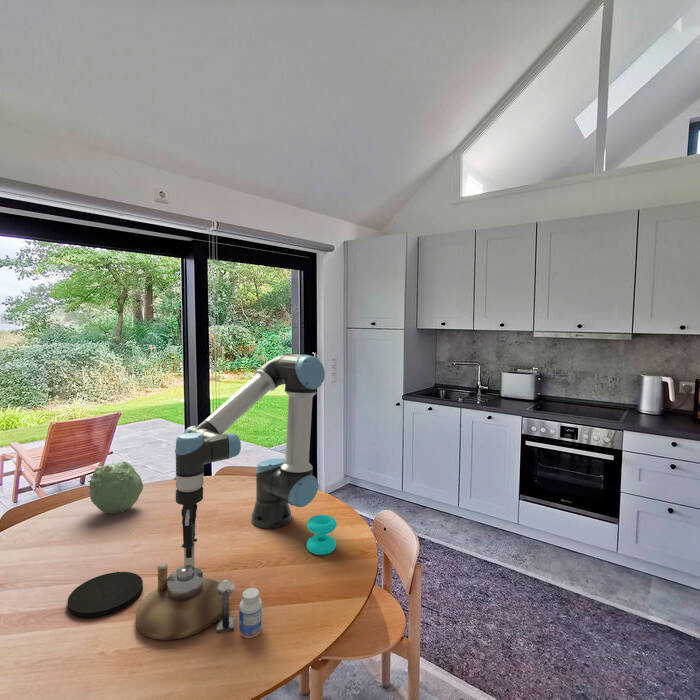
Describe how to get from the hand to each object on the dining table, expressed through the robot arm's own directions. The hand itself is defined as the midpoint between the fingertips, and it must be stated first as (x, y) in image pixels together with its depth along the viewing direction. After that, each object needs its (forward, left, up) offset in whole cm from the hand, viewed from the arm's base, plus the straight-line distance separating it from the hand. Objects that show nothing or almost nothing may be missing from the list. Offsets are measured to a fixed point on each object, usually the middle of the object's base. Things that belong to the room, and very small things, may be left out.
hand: (189, 565), depth 124 cm
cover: (0, +9, -2) cm, 10 cm away
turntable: (0, +14, -4) cm, 15 cm away
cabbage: (+33, -53, -4) cm, 62 cm away
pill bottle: (-17, +25, -4) cm, 31 cm away
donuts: (-41, -9, -4) cm, 42 cm away
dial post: (-11, +22, -4) cm, 25 cm away
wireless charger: (+21, +3, -5) cm, 22 cm away
